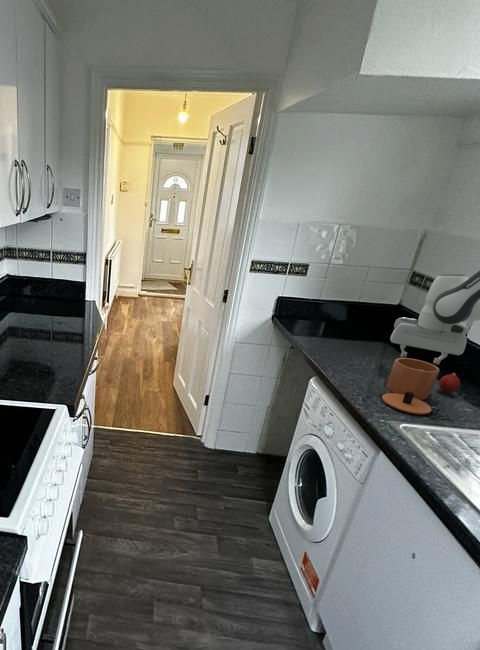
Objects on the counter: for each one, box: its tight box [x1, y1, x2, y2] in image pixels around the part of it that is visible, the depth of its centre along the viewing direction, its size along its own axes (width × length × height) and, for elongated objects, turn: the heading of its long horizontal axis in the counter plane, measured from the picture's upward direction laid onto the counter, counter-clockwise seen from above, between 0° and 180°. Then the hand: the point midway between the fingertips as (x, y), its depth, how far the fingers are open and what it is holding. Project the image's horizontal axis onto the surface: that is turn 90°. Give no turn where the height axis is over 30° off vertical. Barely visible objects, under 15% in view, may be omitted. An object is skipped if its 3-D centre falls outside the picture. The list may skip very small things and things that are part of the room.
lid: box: [381, 392, 433, 415], centre depth 137 cm, size 14×14×5 cm
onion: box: [438, 372, 461, 394], centre depth 147 cm, size 6×6×8 cm
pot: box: [385, 357, 441, 401], centre depth 146 cm, size 13×13×10 cm
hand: (419, 360), depth 144 cm, fingers open, 8 cm apart
